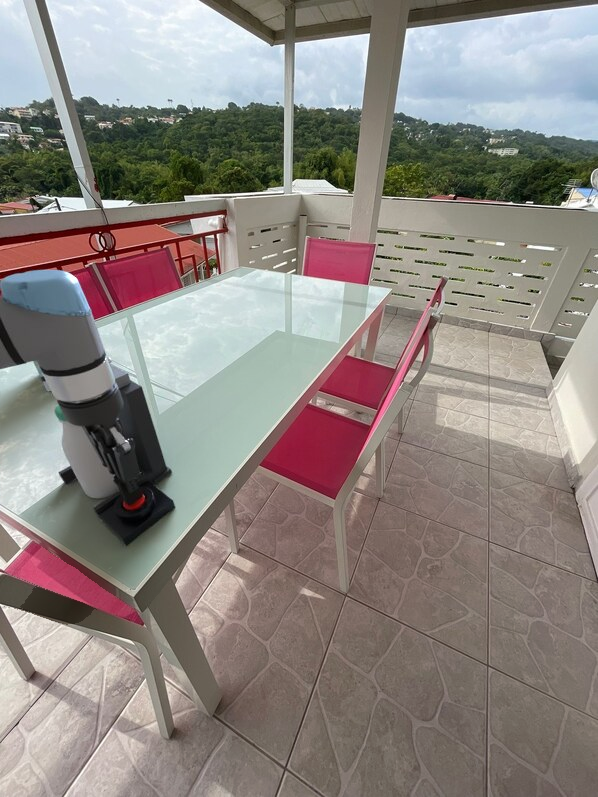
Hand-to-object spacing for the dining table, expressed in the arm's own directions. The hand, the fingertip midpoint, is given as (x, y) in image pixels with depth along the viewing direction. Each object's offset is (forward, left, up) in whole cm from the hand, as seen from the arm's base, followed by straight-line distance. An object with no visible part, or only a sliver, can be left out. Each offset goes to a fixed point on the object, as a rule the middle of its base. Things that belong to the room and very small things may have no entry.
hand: (133, 498), depth 59 cm
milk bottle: (0, +12, -5) cm, 13 cm away
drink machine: (+2, +12, -5) cm, 13 cm away
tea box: (+14, +64, -5) cm, 66 cm away
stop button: (0, 0, -2) cm, 2 cm away
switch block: (0, 0, -5) cm, 5 cm away
